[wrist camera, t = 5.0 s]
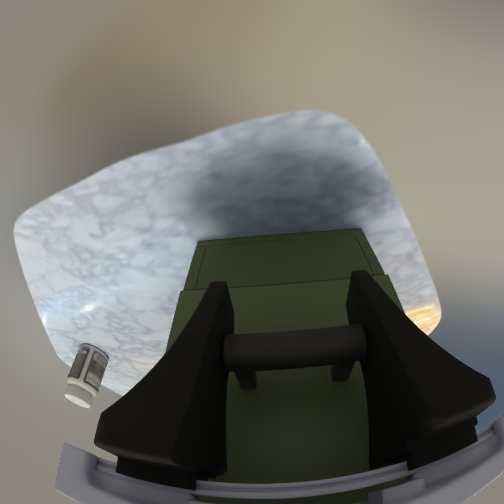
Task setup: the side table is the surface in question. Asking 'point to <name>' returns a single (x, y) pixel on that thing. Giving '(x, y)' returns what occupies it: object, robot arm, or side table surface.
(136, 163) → the side table surface
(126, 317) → the side table surface
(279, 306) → the bin lid
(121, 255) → the side table surface
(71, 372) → the pill bottle
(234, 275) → the bin
